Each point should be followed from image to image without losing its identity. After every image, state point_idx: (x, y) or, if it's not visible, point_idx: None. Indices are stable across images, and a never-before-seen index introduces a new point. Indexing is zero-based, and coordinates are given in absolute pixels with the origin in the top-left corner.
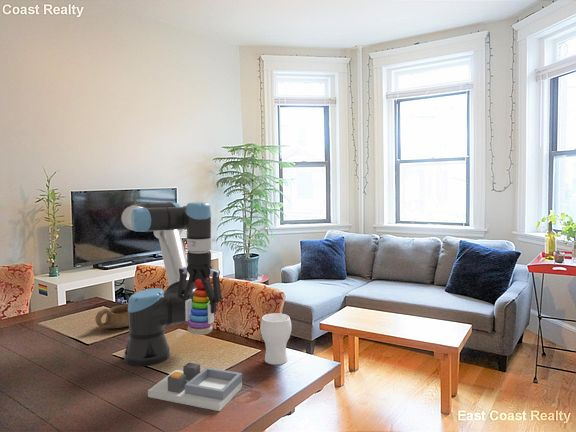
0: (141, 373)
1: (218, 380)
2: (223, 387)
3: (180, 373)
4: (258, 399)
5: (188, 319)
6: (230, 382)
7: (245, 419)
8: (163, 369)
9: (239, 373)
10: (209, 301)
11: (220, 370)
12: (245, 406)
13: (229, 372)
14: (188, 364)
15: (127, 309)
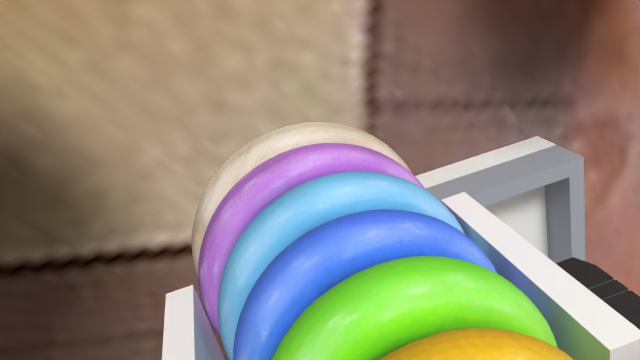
0: (42, 329)
1: None
2: (515, 230)
3: None
4: (629, 164)
5: (218, 351)
6: (577, 248)
7: (634, 275)
8: (87, 239)
9: (575, 166)
10: (519, 322)
11: (480, 199)
12: (606, 225)
13: (529, 188)
14: None
15: None
